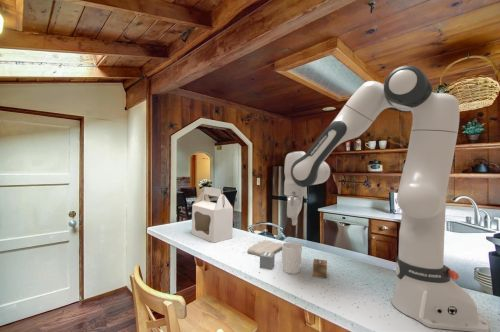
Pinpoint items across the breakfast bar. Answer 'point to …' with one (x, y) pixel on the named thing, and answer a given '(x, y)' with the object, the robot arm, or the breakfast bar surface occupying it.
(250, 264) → the breakfast bar surface
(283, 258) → the white cup
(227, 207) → the gable box
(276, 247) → the washcloth
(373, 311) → the breakfast bar surface
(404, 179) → the robot arm
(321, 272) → the walnut block
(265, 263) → the slate-grey block
